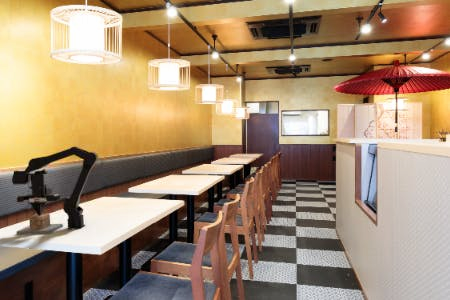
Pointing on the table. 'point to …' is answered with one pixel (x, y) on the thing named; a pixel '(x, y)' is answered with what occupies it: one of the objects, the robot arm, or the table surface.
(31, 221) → the shipping carton
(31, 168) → the robot arm
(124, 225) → the table surface
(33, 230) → the gray rectangular slab
